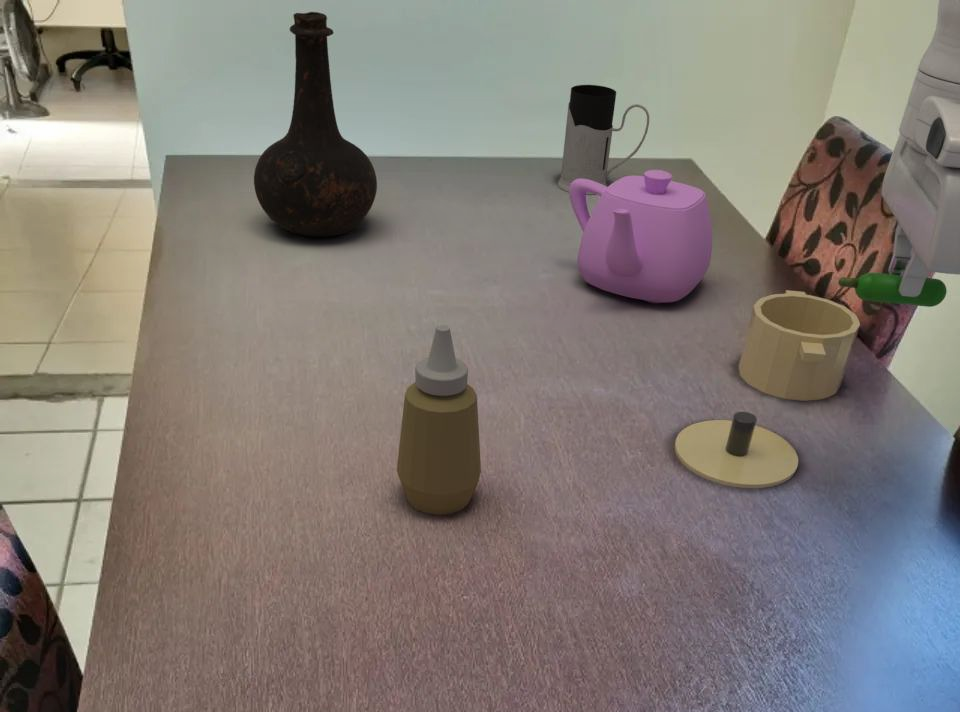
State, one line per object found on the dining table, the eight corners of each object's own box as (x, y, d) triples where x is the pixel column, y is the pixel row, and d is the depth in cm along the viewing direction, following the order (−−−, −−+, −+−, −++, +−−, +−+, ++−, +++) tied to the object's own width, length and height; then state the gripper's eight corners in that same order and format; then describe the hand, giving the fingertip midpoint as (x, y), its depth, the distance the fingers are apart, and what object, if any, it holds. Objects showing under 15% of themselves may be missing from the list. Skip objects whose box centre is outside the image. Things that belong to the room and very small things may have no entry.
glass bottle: (236, 234, 145) (211, 14, 126) (297, 200, 157) (283, -5, 138) (342, 257, 140) (333, 33, 122) (396, 220, 153) (396, 11, 134)
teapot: (584, 248, 148) (597, 141, 138) (716, 280, 141) (740, 170, 131) (516, 297, 133) (525, 181, 123) (660, 337, 126) (682, 217, 116)
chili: (937, 301, 89) (947, 275, 88) (943, 312, 87) (953, 285, 86) (831, 291, 90) (839, 265, 88) (836, 301, 88) (844, 275, 86)
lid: (787, 436, 109) (800, 393, 105) (802, 500, 99) (817, 456, 96) (671, 423, 109) (680, 381, 106) (675, 486, 100) (684, 442, 96)
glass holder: (563, 175, 174) (572, 81, 164) (641, 186, 172) (656, 91, 161) (552, 190, 167) (562, 93, 157) (634, 202, 165) (649, 104, 155)
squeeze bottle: (495, 503, 96) (509, 329, 84) (439, 537, 91) (445, 358, 79) (436, 471, 100) (440, 300, 88) (379, 502, 95) (375, 326, 83)
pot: (826, 354, 125) (846, 290, 119) (848, 422, 112) (872, 352, 106) (732, 345, 125) (748, 280, 120) (743, 411, 112) (761, 341, 107)
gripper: (895, 82, 86) (847, 240, 95) (953, 148, 71) (889, 329, 80) (967, 88, 86) (912, 246, 95) (1041, 156, 71) (967, 337, 80)
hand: (902, 285), depth 87 cm, fingers closed on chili, 2 cm apart
